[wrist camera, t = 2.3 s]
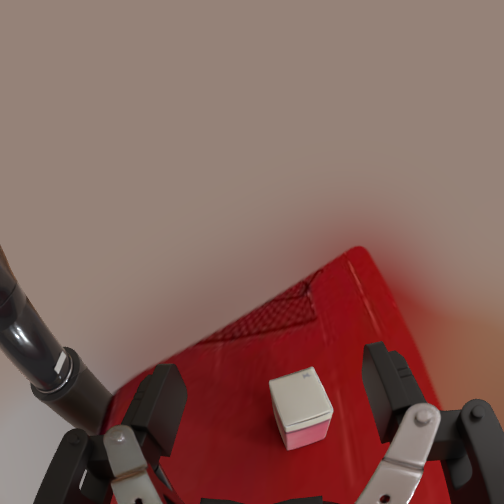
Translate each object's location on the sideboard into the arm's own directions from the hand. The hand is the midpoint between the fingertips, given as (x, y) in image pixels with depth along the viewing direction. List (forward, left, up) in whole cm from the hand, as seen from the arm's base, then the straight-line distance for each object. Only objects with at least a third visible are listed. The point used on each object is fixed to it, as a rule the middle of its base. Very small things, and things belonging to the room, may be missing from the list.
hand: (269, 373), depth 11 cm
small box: (-2, +4, -20) cm, 20 cm away
